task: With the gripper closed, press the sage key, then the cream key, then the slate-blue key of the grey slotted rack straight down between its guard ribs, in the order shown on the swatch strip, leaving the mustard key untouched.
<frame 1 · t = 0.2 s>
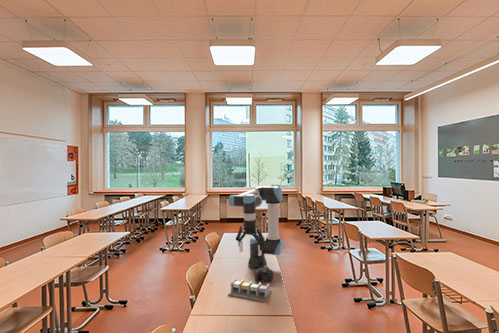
hand: (250, 253, 159), 27 cm above the table, fingers open, 13 cm apart
camera: (264, 281, 182), on the table
key mustard: (245, 285, 165), point 4 cm above the table, slide at 0.0 cm
key cream: (237, 284, 167), point 4 cm above the table, slide at 0.0 cm
key slate: (263, 288, 161), point 4 cm above the table, slide at 0.0 cm
grey slotted rack: (250, 293, 164), on the table
key sage: (254, 287, 163), point 4 cm above the table, slide at 0.0 cm
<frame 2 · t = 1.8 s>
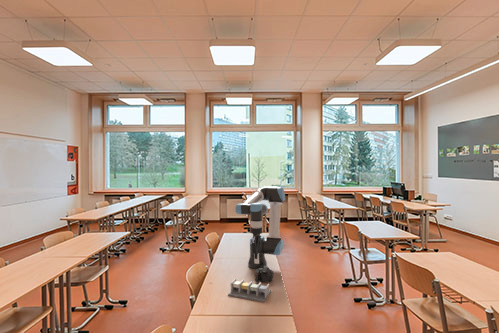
hand: (256, 263, 167), 18 cm above the table, fingers closed
nothing on the table moved.
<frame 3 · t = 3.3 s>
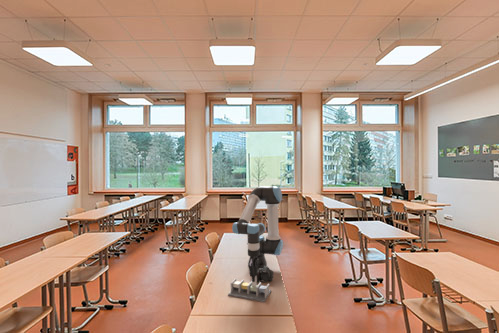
hand: (254, 285, 163), 5 cm above the table, fingers closed
key sage: (254, 287, 163), point 4 cm above the table, slide at 0.4 cm, touching gripper
everything else where it was.
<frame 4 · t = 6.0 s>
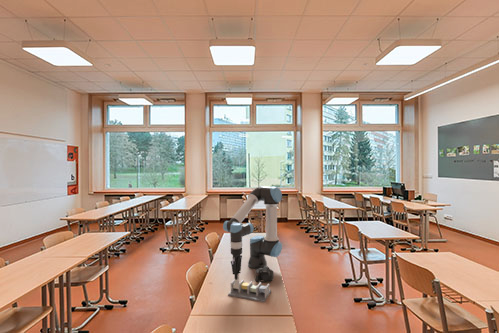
hand: (236, 283, 167), 5 cm above the table, fingers closed
key cream: (237, 285, 167), point 4 cm above the table, slide at 0.8 cm, touching gripper
key sage: (254, 288, 163), point 4 cm above the table, slide at 0.8 cm
everything else where it was.
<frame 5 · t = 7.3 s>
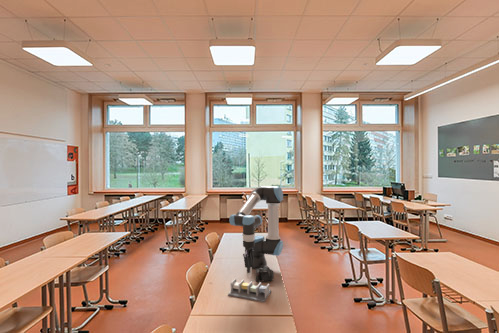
hand: (249, 277, 164), 11 cm above the table, fingers closed
key cream: (237, 285, 167), point 4 cm above the table, slide at 0.8 cm
everything else where it was.
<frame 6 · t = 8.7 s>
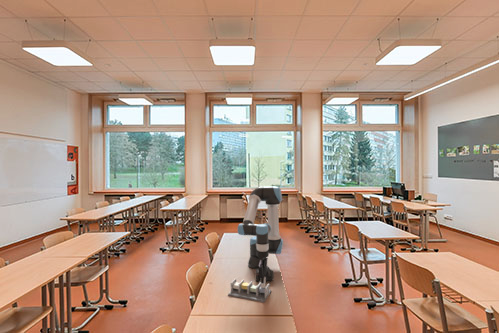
hand: (263, 287, 160), 5 cm above the table, fingers closed
key slate: (263, 289, 161), point 4 cm above the table, slide at 0.3 cm, touching gripper
everything else where it was.
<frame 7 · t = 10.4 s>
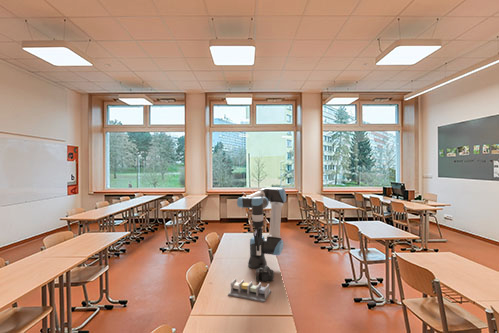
hand: (258, 254, 173), 21 cm above the table, fingers closed
key slate: (263, 290, 161), point 4 cm above the table, slide at 0.8 cm
everything else where it was.
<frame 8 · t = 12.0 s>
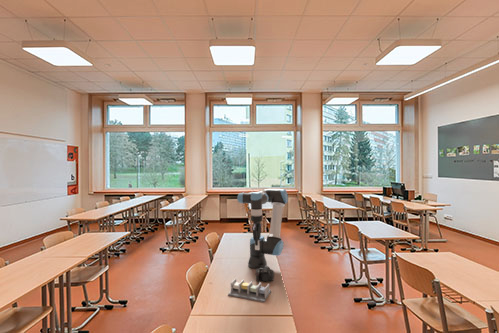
hand: (257, 249, 175), 24 cm above the table, fingers closed
nothing on the table moved.
at the end: key sage slide at 0.8 cm; key cream slide at 0.8 cm; key slate slide at 0.8 cm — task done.
